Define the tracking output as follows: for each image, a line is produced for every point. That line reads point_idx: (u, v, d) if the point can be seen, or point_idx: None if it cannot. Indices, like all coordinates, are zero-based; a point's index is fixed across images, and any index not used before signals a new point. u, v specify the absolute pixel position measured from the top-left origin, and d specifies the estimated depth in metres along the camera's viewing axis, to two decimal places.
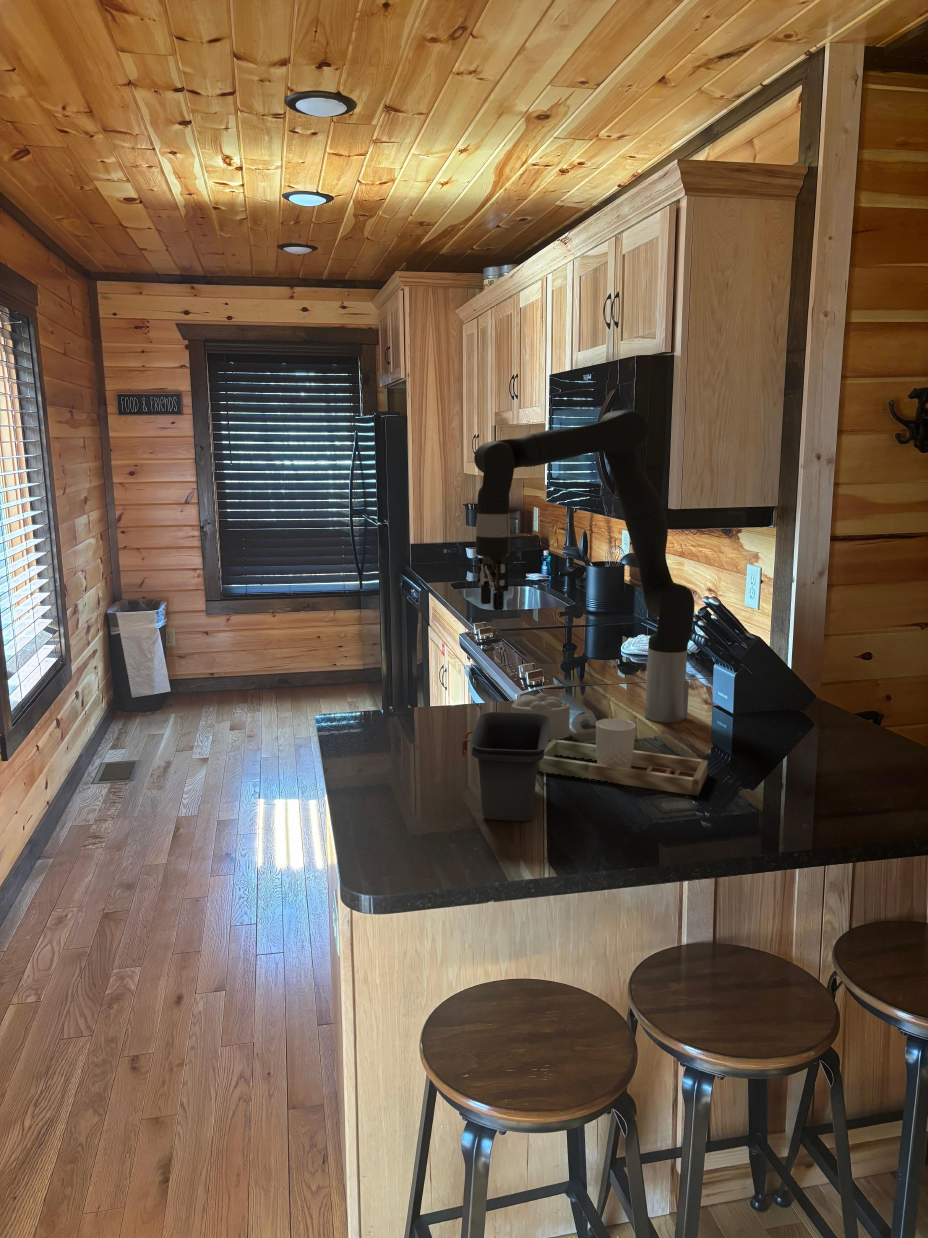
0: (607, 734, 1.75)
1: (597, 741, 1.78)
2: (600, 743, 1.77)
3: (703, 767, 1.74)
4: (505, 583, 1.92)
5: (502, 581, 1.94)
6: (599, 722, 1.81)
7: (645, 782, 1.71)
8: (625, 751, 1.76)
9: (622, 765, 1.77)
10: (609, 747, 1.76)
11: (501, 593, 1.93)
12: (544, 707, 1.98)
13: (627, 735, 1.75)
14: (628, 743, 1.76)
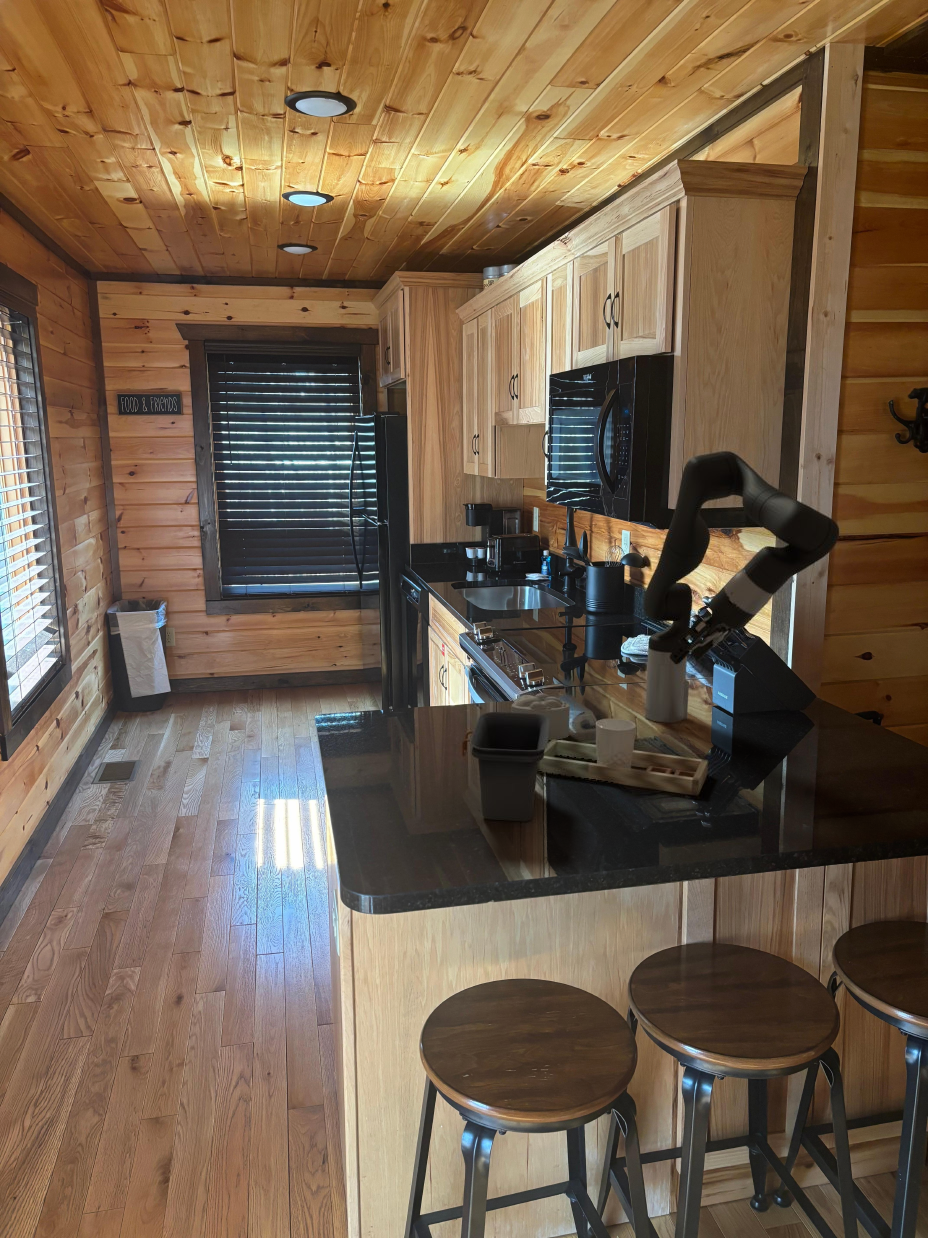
0: (607, 734, 1.75)
1: (597, 741, 1.78)
2: (600, 743, 1.77)
3: (703, 767, 1.74)
4: None
5: None
6: (599, 722, 1.81)
7: (645, 782, 1.71)
8: (625, 751, 1.76)
9: (622, 765, 1.77)
10: (609, 747, 1.76)
11: None
12: (544, 707, 1.98)
13: (627, 735, 1.75)
14: (628, 743, 1.76)
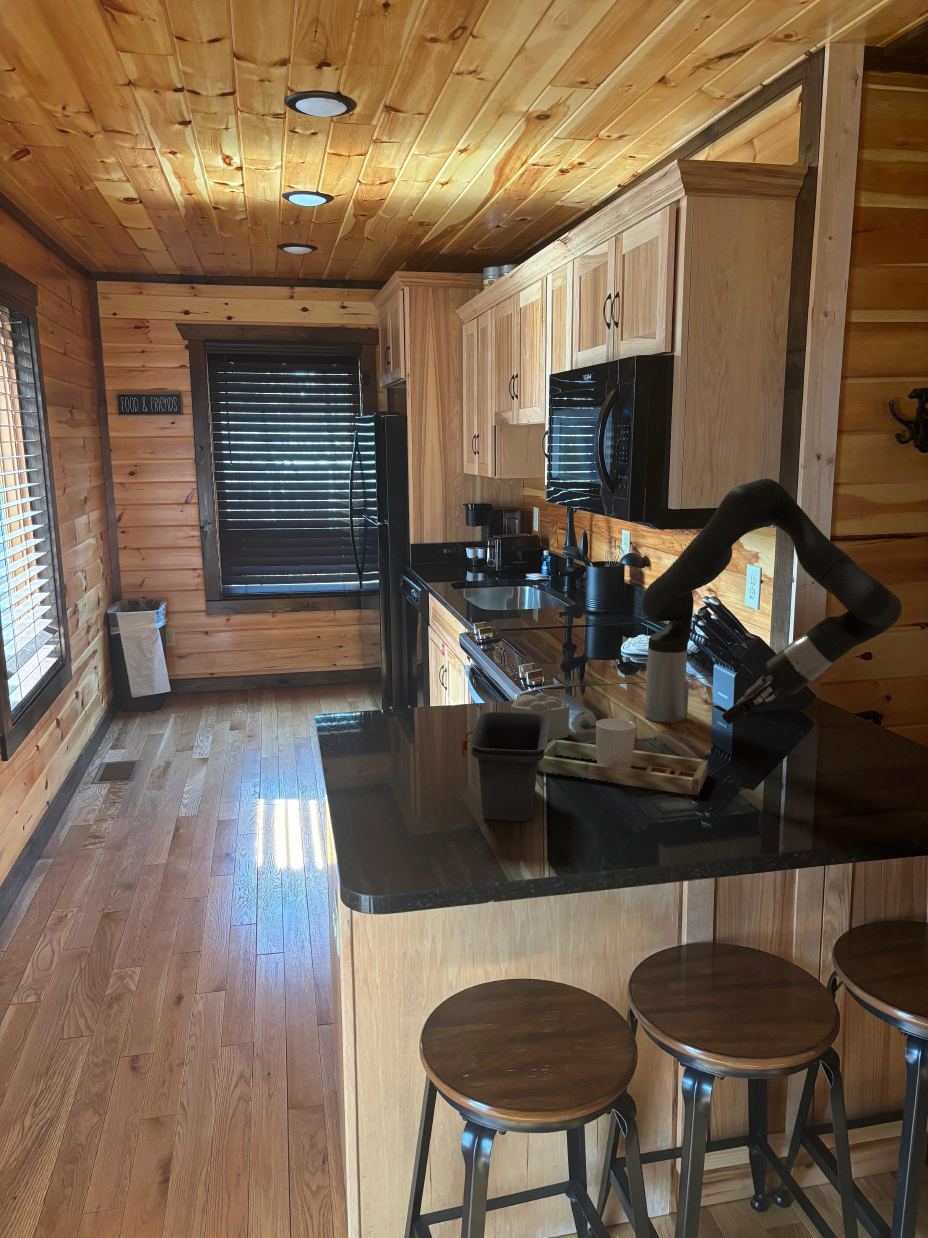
0: (607, 734, 1.75)
1: (597, 741, 1.78)
2: (600, 743, 1.77)
3: (703, 767, 1.74)
4: None
5: None
6: (599, 722, 1.81)
7: (645, 782, 1.71)
8: (625, 751, 1.76)
9: (622, 765, 1.77)
10: (609, 747, 1.76)
11: None
12: (544, 707, 1.98)
13: (627, 735, 1.75)
14: (629, 743, 1.76)
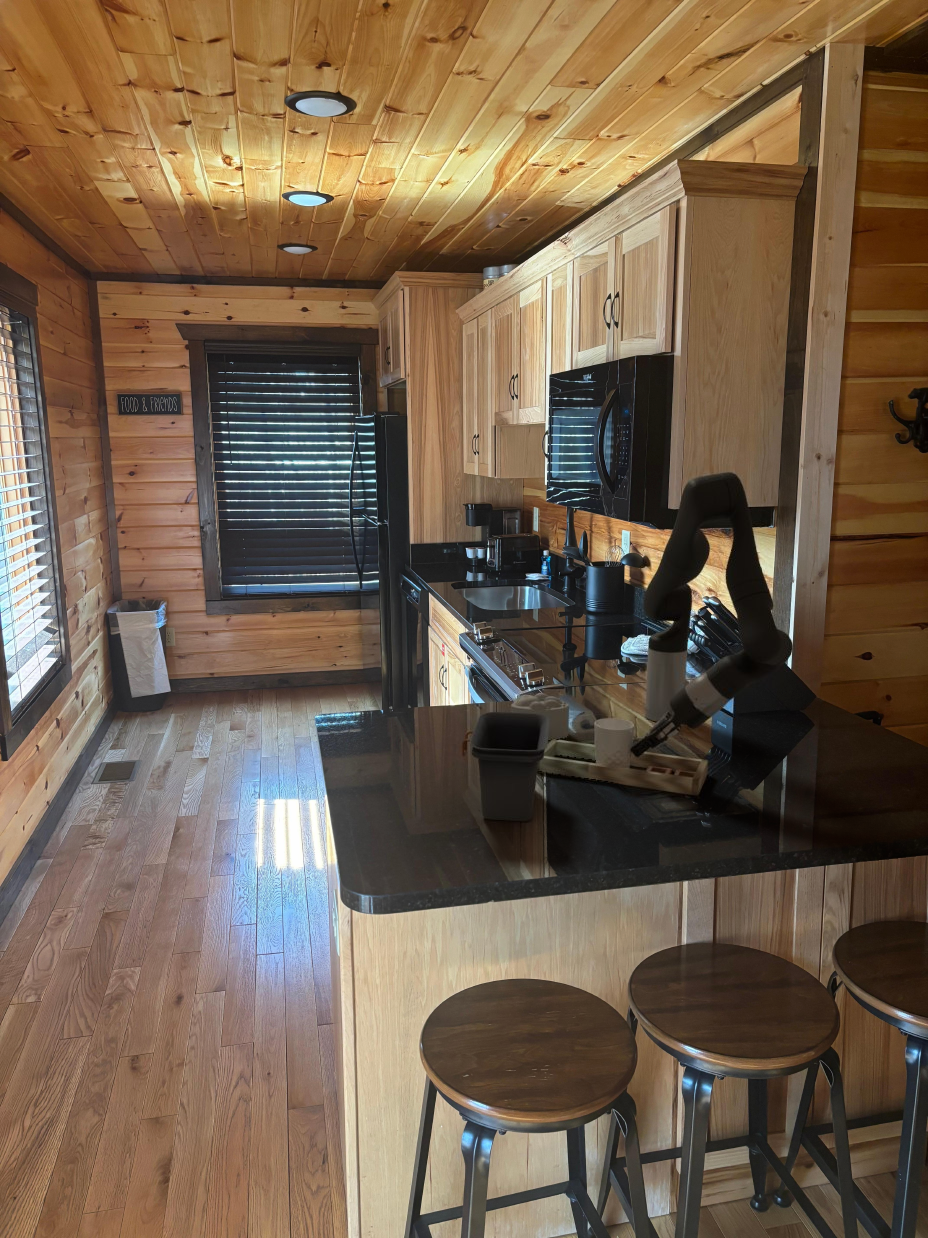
0: (605, 733, 1.75)
1: (596, 741, 1.78)
2: (599, 742, 1.77)
3: (703, 767, 1.74)
4: None
5: None
6: (598, 722, 1.81)
7: (645, 782, 1.71)
8: (623, 751, 1.76)
9: (620, 765, 1.77)
10: (607, 747, 1.76)
11: None
12: (544, 707, 1.99)
13: (625, 735, 1.75)
14: (627, 743, 1.76)
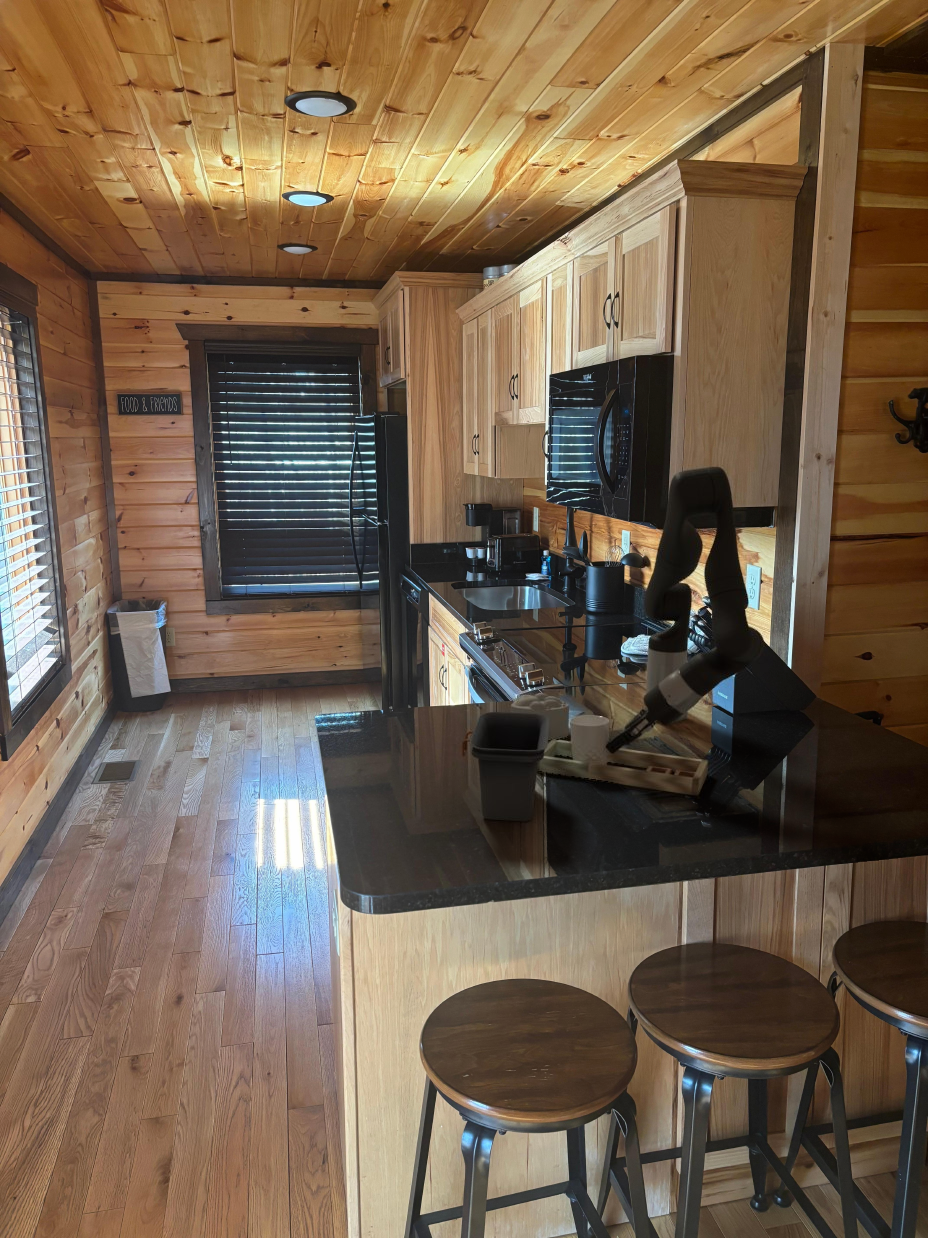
0: (581, 730, 1.77)
1: (572, 738, 1.80)
2: (575, 739, 1.79)
3: (703, 767, 1.74)
4: None
5: None
6: (573, 719, 1.82)
7: (645, 782, 1.71)
8: (599, 746, 1.78)
9: (597, 760, 1.78)
10: (583, 743, 1.77)
11: None
12: (544, 707, 1.99)
13: (601, 731, 1.77)
14: (603, 739, 1.78)
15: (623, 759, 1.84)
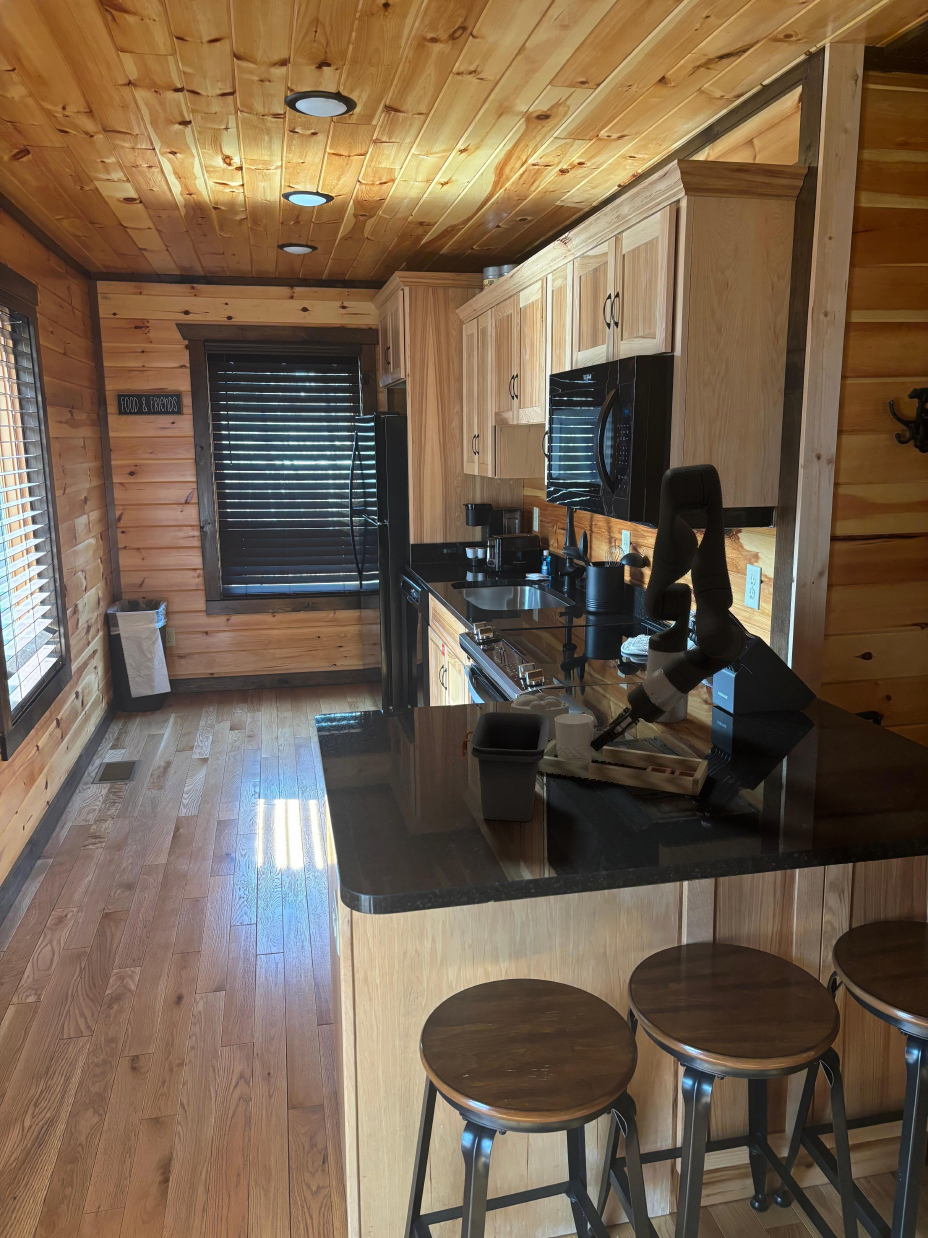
0: (565, 728, 1.78)
1: (556, 736, 1.81)
2: (559, 737, 1.80)
3: (703, 767, 1.74)
4: None
5: None
6: (558, 717, 1.84)
7: (645, 782, 1.71)
8: (584, 744, 1.79)
9: (582, 758, 1.79)
10: (568, 741, 1.79)
11: None
12: (543, 707, 1.99)
13: (585, 729, 1.78)
14: (587, 736, 1.79)
15: (623, 759, 1.84)
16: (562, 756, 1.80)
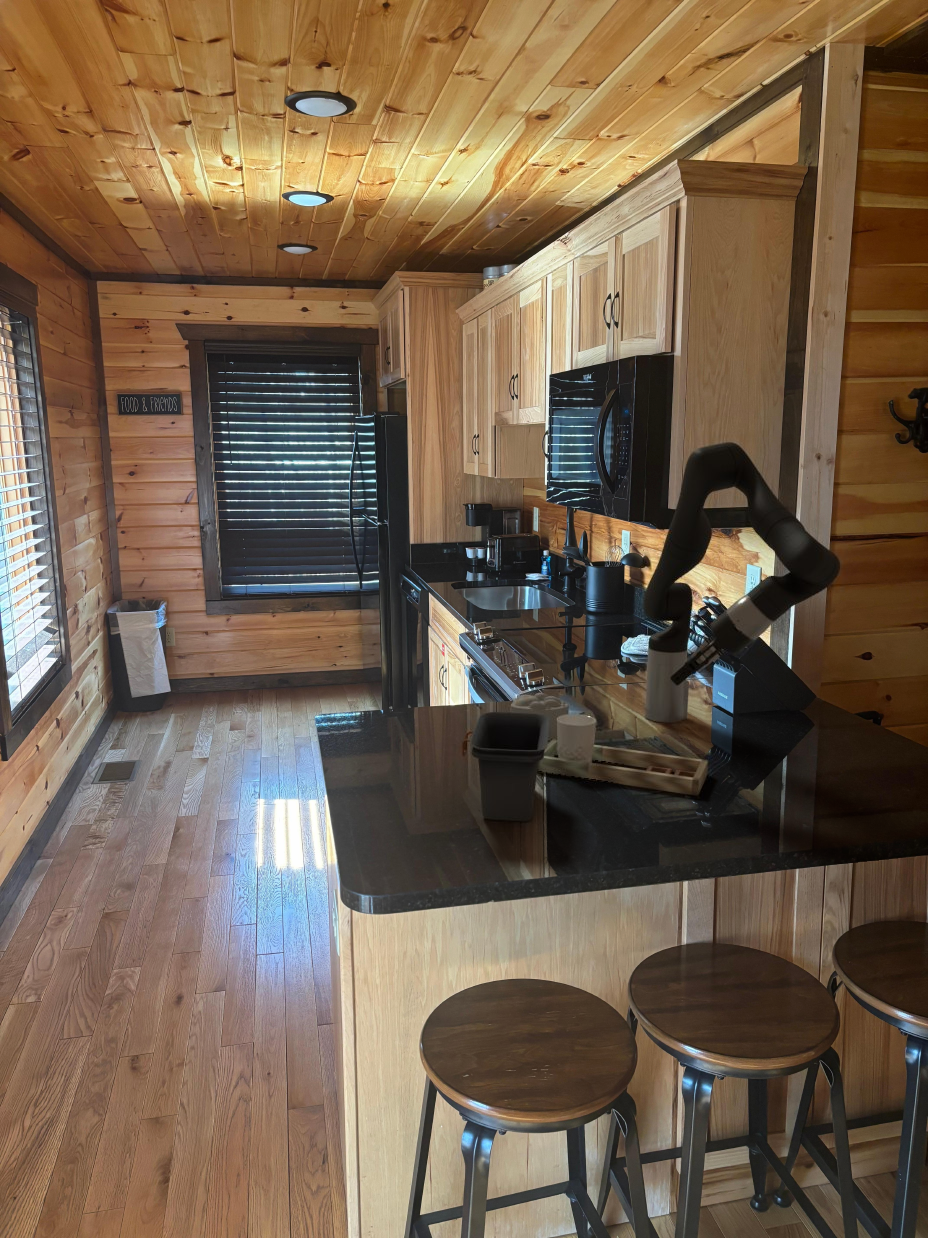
0: (567, 729, 1.78)
1: (558, 736, 1.81)
2: (561, 738, 1.80)
3: (703, 767, 1.74)
4: None
5: None
6: (560, 718, 1.83)
7: (645, 782, 1.71)
8: (585, 746, 1.79)
9: (582, 760, 1.79)
10: (569, 742, 1.78)
11: None
12: (543, 706, 1.99)
13: (587, 731, 1.78)
14: (588, 739, 1.79)
15: (623, 759, 1.84)
16: (563, 757, 1.80)
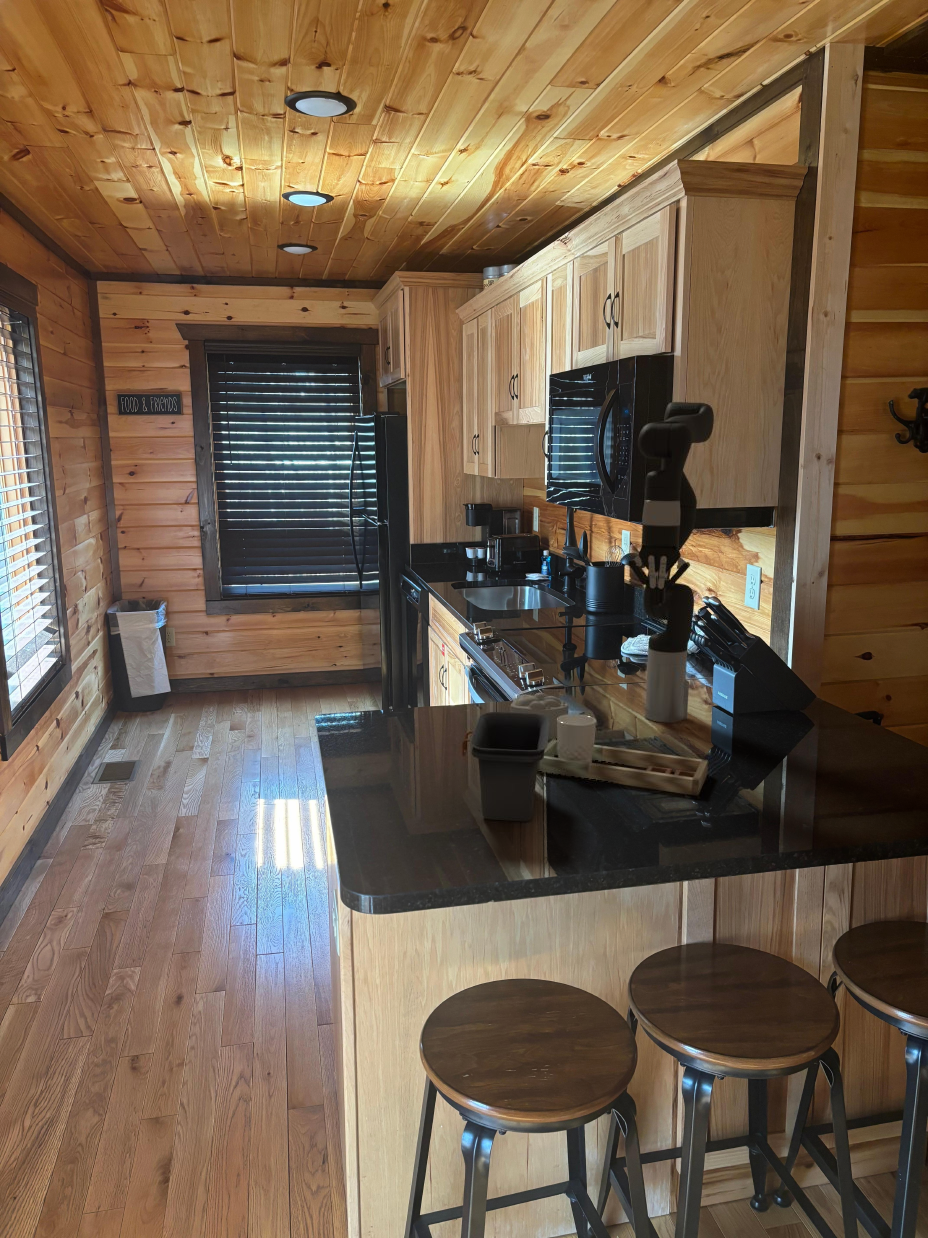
0: (567, 729, 1.78)
1: (558, 736, 1.81)
2: (561, 738, 1.80)
3: (703, 767, 1.74)
4: None
5: (666, 576, 1.86)
6: (560, 718, 1.83)
7: (645, 782, 1.71)
8: (585, 746, 1.79)
9: (582, 760, 1.79)
10: (569, 742, 1.78)
11: (665, 588, 1.86)
12: (543, 706, 1.99)
13: (587, 731, 1.78)
14: (588, 739, 1.79)
15: (623, 759, 1.84)
16: (563, 757, 1.80)
